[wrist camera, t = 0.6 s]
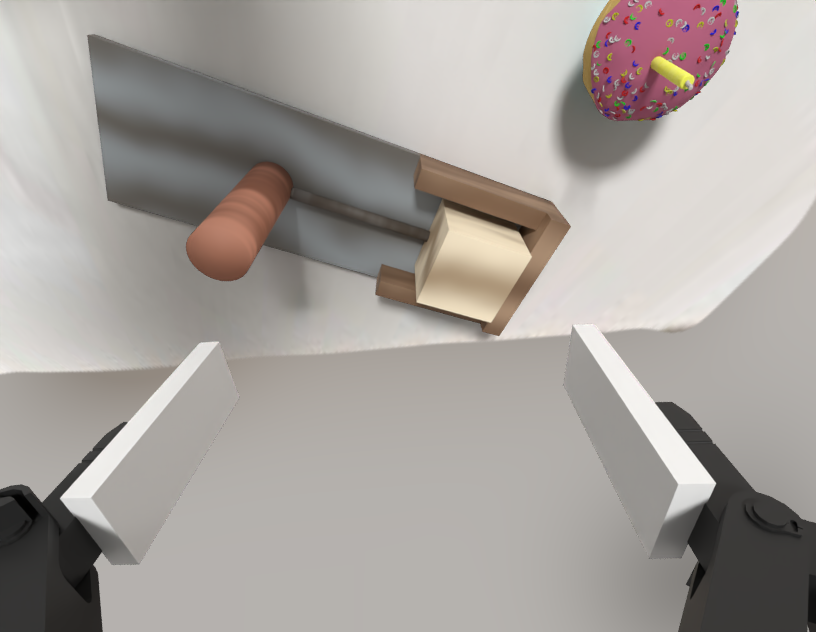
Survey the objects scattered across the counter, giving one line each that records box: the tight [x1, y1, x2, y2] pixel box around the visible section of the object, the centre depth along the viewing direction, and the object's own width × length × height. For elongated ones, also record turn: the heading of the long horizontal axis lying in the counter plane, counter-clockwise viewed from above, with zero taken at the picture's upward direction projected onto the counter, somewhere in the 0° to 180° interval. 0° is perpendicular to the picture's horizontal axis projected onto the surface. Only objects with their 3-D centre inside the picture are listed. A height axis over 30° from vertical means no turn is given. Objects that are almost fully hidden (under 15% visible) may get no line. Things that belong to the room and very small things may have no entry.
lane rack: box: [87, 34, 571, 336], centre depth 33 cm, size 12×37×5 cm, turn 71°
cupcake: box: [583, 0, 739, 121], centre depth 23 cm, size 9×8×12 cm
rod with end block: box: [186, 162, 532, 323], centre depth 30 cm, size 7×23×12 cm, turn 71°
